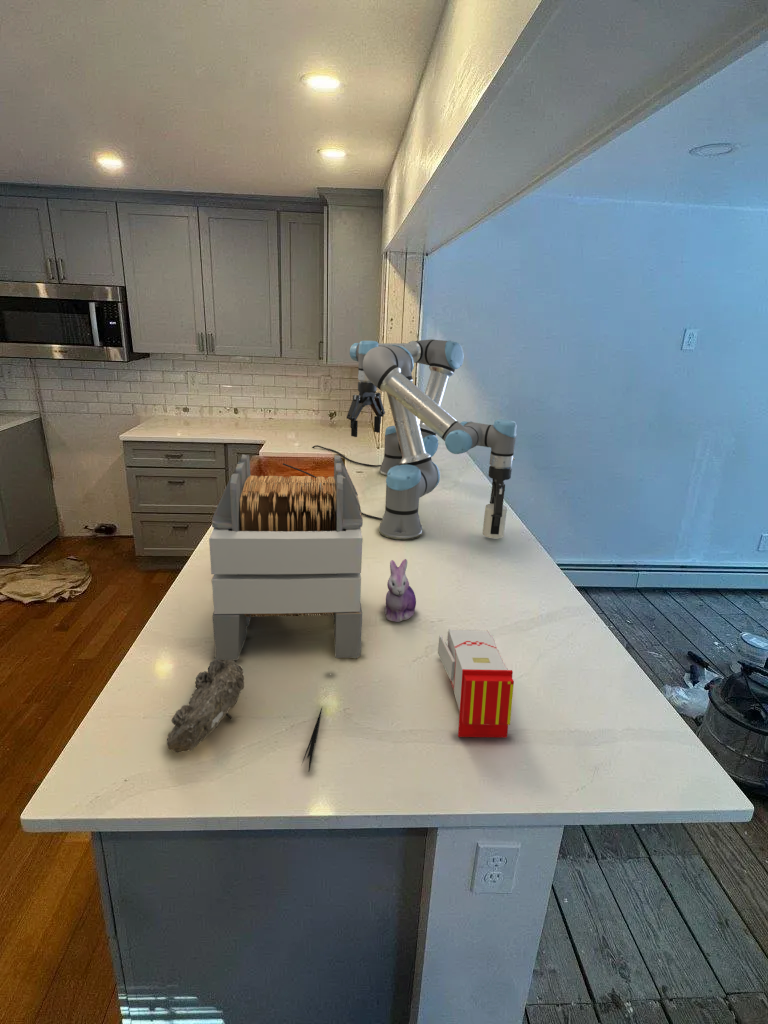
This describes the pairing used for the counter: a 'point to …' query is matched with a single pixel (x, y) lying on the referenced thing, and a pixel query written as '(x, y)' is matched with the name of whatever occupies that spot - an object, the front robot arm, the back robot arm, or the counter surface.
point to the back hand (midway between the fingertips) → (365, 434)
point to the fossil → (206, 705)
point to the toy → (478, 682)
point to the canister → (488, 521)
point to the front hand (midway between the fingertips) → (493, 529)
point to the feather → (313, 740)
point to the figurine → (399, 594)
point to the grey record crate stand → (286, 555)
